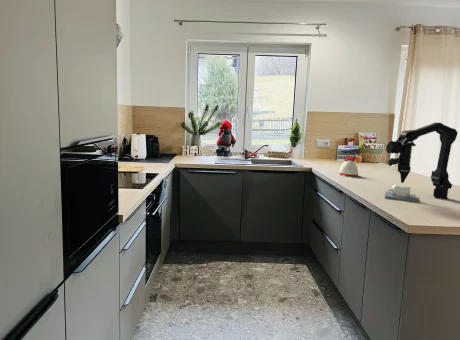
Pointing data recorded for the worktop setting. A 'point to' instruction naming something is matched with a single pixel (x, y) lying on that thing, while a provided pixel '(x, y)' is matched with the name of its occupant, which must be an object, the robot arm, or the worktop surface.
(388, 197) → the slate mat
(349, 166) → the kitchen timer
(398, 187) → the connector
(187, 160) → the worktop surface
